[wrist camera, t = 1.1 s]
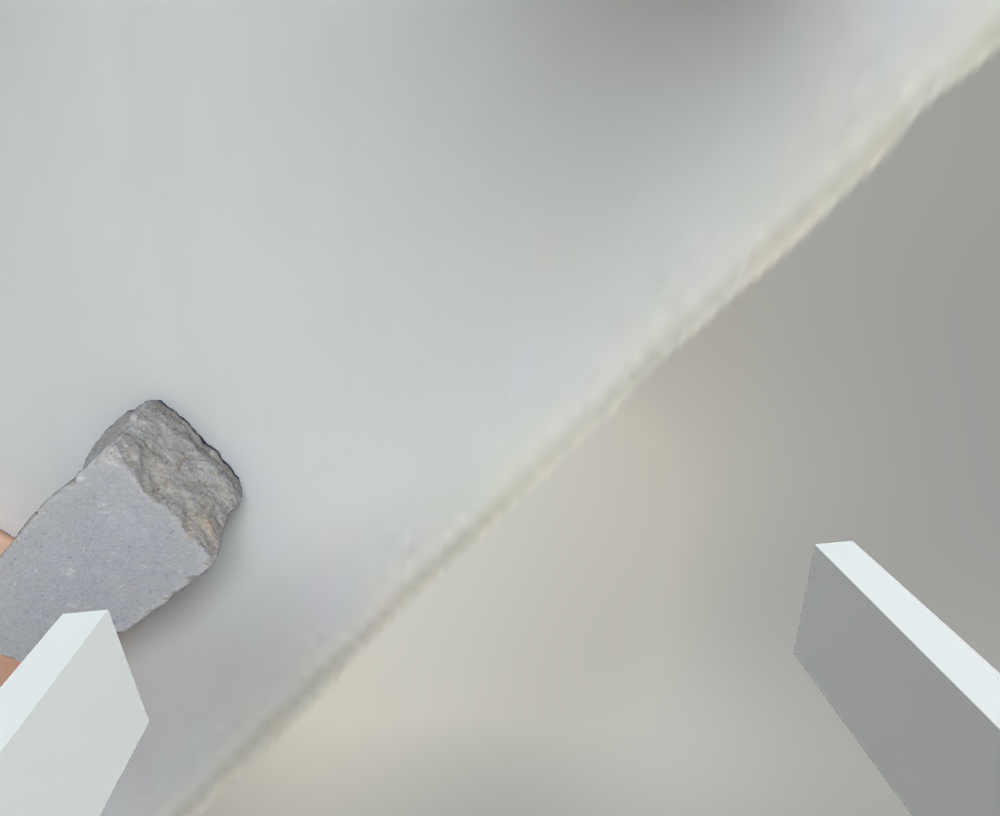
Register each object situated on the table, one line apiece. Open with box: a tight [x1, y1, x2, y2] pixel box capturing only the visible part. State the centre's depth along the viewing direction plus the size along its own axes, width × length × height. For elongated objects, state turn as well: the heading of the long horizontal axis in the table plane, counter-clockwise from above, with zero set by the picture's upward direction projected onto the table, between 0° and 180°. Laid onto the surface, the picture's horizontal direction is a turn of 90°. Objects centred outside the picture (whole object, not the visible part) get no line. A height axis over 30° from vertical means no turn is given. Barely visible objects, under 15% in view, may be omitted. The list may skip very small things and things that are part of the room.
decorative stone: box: [0, 400, 242, 663], centre depth 32 cm, size 15×7×10 cm
